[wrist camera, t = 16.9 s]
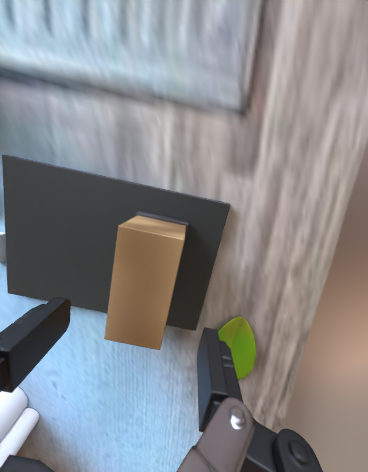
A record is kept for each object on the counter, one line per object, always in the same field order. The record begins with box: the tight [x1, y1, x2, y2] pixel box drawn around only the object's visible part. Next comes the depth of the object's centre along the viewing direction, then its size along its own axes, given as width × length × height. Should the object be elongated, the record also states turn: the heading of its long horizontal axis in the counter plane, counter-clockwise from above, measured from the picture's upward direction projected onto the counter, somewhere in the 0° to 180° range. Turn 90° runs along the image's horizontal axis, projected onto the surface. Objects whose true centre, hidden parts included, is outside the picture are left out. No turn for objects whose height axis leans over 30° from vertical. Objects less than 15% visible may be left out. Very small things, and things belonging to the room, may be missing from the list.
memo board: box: [2, 155, 230, 331], centre depth 20 cm, size 22×15×1 cm
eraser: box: [104, 211, 189, 350], centre depth 17 cm, size 5×10×6 cm, turn 168°
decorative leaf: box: [218, 317, 256, 380], centre depth 23 cm, size 8×9×1 cm
